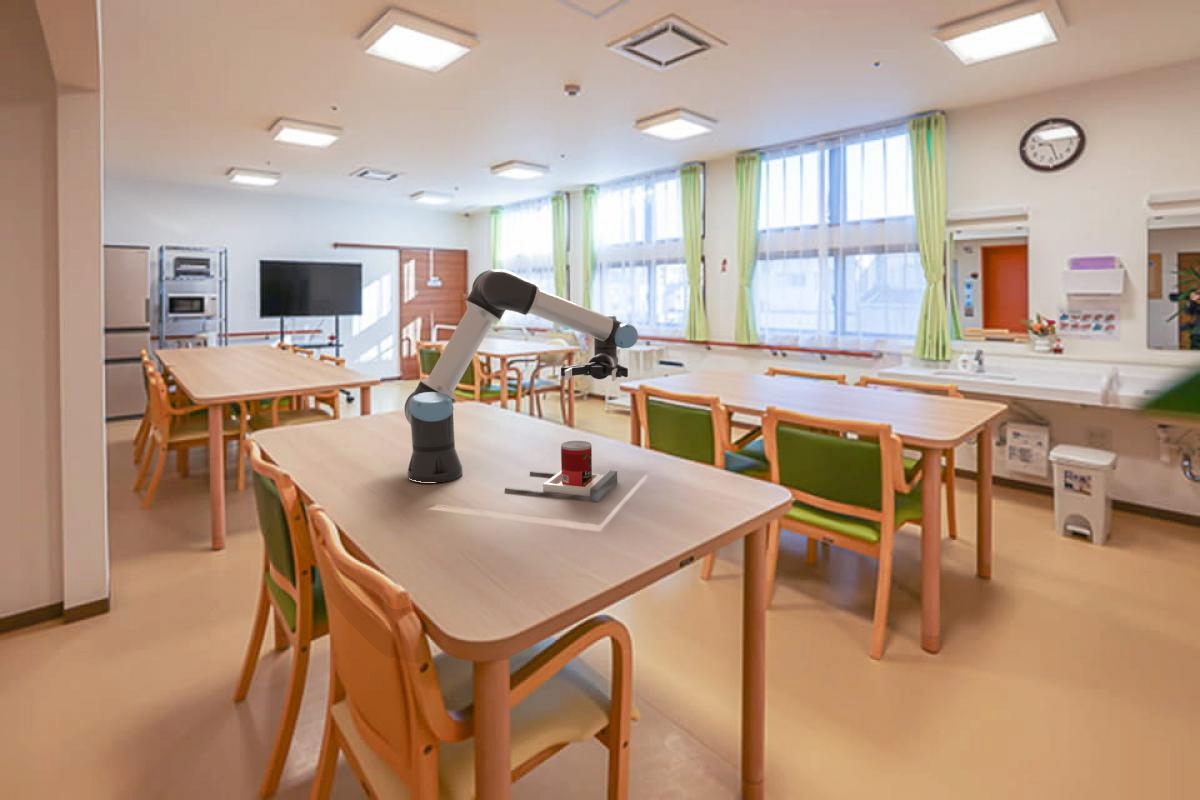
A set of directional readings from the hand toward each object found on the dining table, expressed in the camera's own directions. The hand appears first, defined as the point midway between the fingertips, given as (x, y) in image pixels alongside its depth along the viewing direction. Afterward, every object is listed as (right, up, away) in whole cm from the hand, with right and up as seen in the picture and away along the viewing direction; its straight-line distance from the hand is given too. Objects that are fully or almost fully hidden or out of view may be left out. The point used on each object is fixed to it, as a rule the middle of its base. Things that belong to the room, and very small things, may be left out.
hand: (589, 375), depth 174 cm
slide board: (-6, -31, -13) cm, 34 cm away
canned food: (-3, -29, -15) cm, 33 cm away
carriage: (-4, -30, -14) cm, 33 cm away
